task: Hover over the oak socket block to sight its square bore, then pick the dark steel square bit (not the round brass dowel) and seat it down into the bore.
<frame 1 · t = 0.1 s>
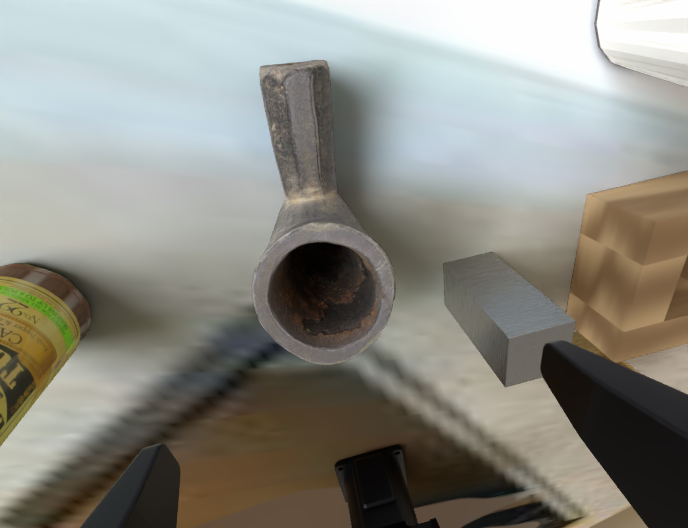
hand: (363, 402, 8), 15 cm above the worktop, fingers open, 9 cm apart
cup: (642, 1, 19), on the worktop
square bit: (467, 279, 26), on the worktop
pipe: (304, 188, 21), on the worktop
sauce bottle: (38, 300, 21), on the worktop
round dowel: (574, 346, 31), on the worktop
socket block: (641, 247, 27), on the worktop
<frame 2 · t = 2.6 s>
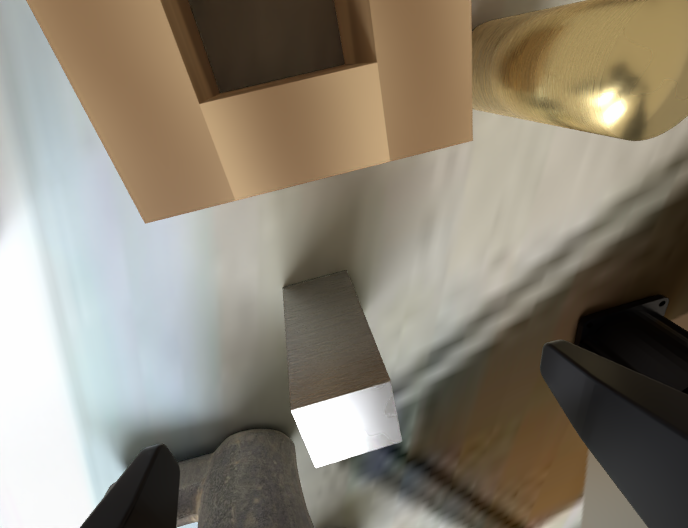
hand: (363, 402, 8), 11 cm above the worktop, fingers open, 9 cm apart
square bit: (322, 304, 20), on the worktop
pipe: (221, 450, 25), on the worktop
round dowel: (490, 67, 16), on the worktop
socket block: (263, 0, 13), on the worktop
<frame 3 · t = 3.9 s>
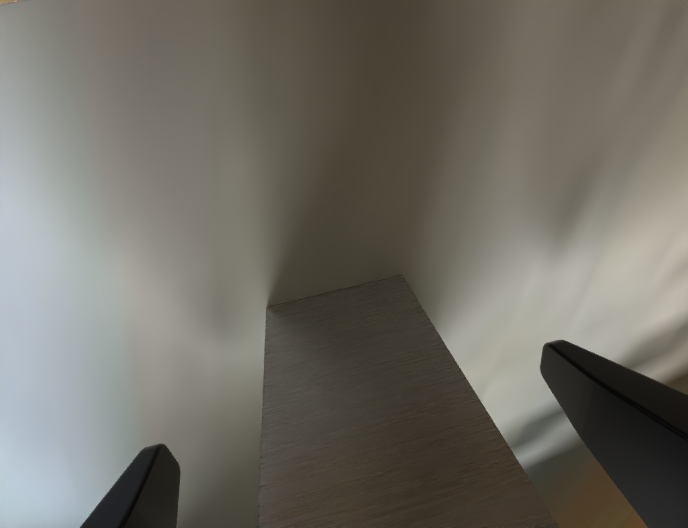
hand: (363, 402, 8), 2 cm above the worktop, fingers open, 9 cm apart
square bit: (346, 342, 10), on the worktop
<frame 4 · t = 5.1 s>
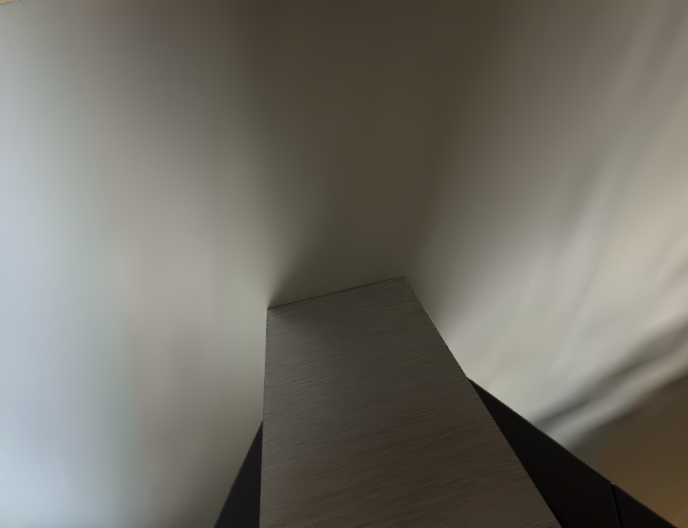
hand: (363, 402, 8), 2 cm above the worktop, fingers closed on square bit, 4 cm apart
square bit: (347, 344, 10), on the worktop, touching gripper
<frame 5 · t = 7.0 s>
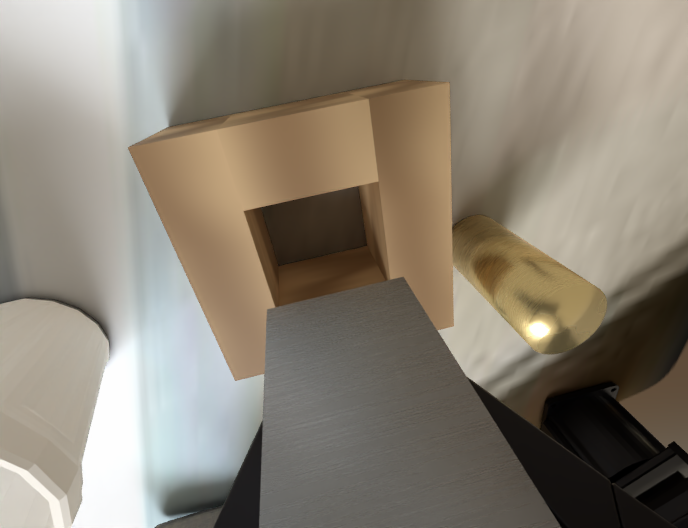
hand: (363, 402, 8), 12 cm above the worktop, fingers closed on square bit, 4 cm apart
cup: (52, 338, 20), on the worktop
square bit: (347, 344, 10), point 10 cm above the worktop, touching gripper
pipe: (241, 499, 30), on the worktop
round dowel: (472, 242, 21), on the worktop
socket block: (313, 213, 19), on the worktop
when the fingers open (5 cm above the worktop, at t = 8.9 s): square bit drops 3 cm, resting in socket block.
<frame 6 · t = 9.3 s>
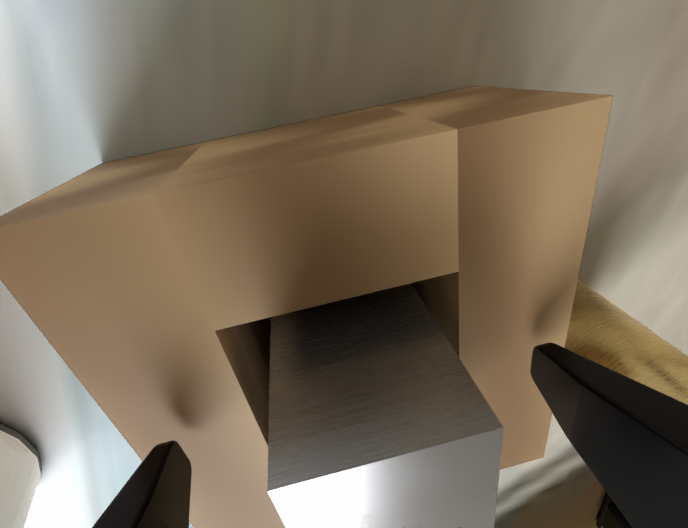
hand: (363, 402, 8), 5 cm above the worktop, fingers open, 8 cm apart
square bit: (333, 280, 13), resting in socket block
round dowel: (546, 308, 16), on the worktop
socket block: (330, 280, 13), on the worktop
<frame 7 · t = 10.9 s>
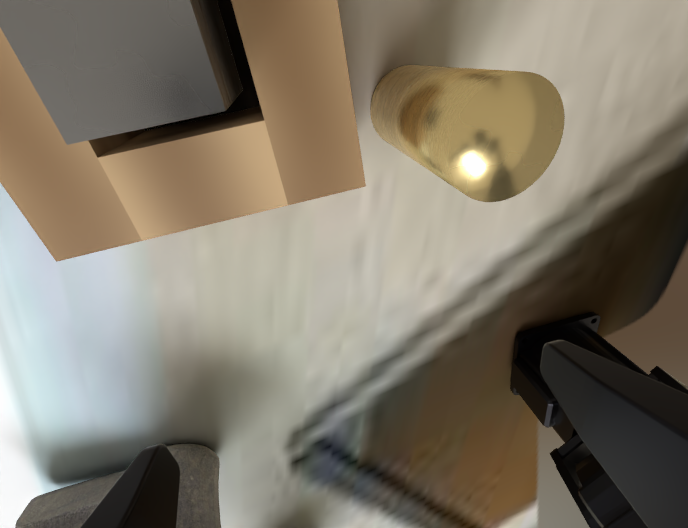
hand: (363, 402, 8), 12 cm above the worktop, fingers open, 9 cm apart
square bit: (183, 49, 14), resting in socket block
pipe: (149, 463, 25), on the worktop
round dowel: (406, 107, 17), on the worktop
socket block: (180, 48, 14), on the worktop
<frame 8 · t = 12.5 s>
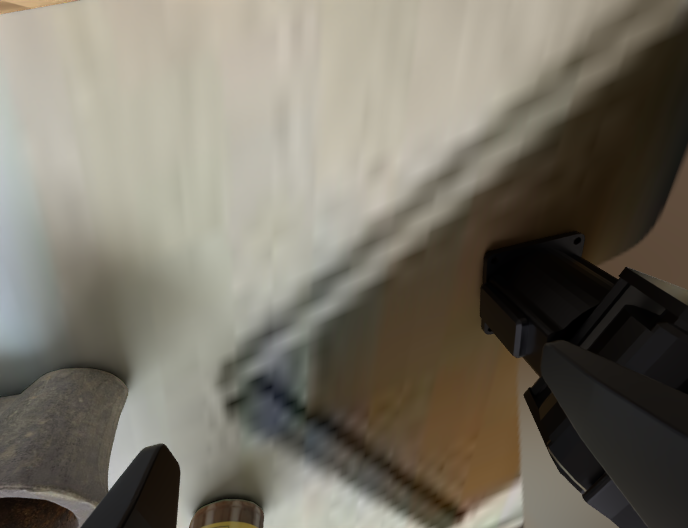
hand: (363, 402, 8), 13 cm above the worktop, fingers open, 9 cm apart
pipe: (49, 394, 22), on the worktop
sauce bottle: (227, 511, 31), on the worktop
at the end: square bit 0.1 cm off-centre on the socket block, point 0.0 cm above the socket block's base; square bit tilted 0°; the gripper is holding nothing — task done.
